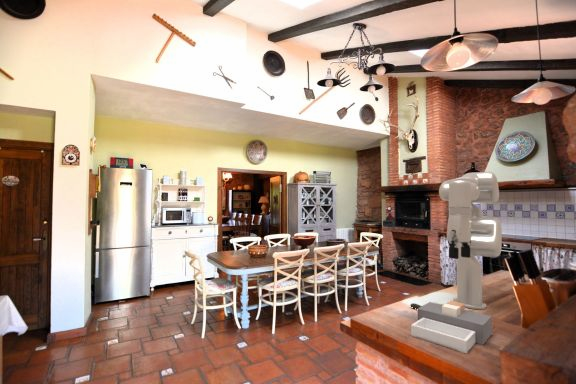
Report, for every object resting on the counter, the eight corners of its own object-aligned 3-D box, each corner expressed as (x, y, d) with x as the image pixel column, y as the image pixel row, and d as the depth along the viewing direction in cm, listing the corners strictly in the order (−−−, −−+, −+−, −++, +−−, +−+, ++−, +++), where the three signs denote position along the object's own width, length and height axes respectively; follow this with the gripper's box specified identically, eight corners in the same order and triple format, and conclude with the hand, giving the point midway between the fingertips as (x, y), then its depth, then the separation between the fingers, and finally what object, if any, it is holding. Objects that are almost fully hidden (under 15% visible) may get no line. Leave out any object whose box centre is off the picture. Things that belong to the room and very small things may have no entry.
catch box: (422, 327, 104) (423, 317, 104) (475, 343, 93) (475, 331, 93) (411, 335, 97) (411, 324, 97) (466, 353, 85) (466, 341, 86)
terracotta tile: (450, 307, 108) (450, 300, 108) (464, 310, 105) (464, 303, 105) (446, 310, 105) (446, 303, 105) (460, 313, 102) (460, 306, 102)
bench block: (429, 317, 114) (429, 301, 114) (491, 334, 100) (491, 316, 100) (417, 325, 105) (417, 308, 106) (483, 345, 91) (483, 325, 92)
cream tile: (446, 310, 104) (446, 303, 105) (460, 314, 101) (460, 306, 101) (442, 313, 101) (442, 306, 101) (456, 317, 98) (456, 309, 98)
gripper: (459, 213, 122) (459, 255, 120) (438, 211, 111) (438, 257, 110) (480, 213, 116) (480, 258, 114) (459, 211, 105) (459, 260, 104)
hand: (459, 257), depth 112 cm, fingers open, 9 cm apart
